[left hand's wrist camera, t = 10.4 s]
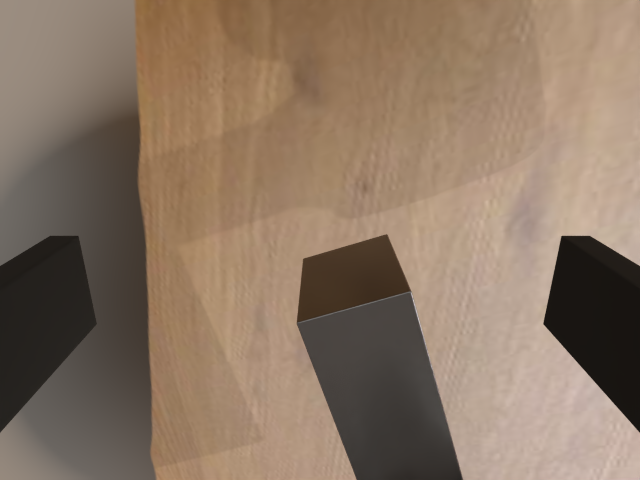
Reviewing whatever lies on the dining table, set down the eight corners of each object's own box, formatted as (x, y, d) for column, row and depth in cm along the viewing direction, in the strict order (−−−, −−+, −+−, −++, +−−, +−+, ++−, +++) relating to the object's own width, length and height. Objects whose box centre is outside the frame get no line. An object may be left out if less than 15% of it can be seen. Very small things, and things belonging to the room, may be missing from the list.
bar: (302, 258, 28) (296, 323, 21) (387, 233, 28) (411, 291, 20) (399, 528, 37) (419, 643, 29) (466, 514, 36) (503, 627, 29)
